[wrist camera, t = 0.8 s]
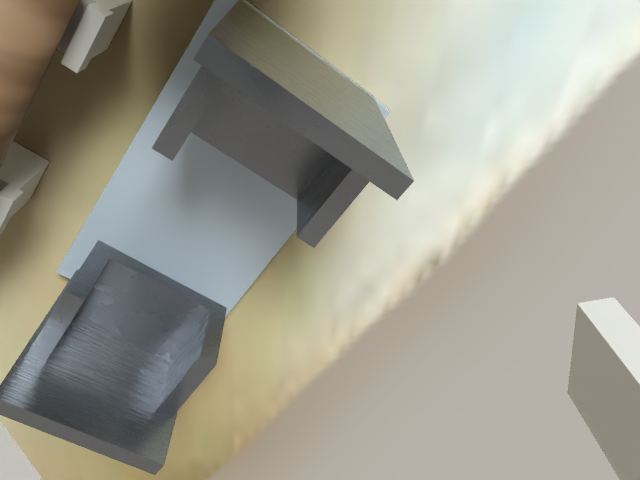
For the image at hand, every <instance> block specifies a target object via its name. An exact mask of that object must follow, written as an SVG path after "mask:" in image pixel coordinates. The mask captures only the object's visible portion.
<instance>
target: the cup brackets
mask: <svg viewBox="0 0 640 480" xmlns="http://www.w3.org/2000/svg"><path fill="white" fill-rule="evenodd" d="M193 60H195V61H196V62H197V63H199V64H200V65H201V67H200V69H199V70H198V72H197V74H196V75H195V77H194V79H193V80H192V82H191V83H190V85H189V87H188V88H187V90H186V92H185V93H184V95H183V97H182V98H181V100H180V102H179V103H178V105H177V107H176V108H175V110H174V112H173V113H172V115H171V117H170V118H169V120H168V122H167V123H166V125H165V126H164V128H163V130H162V131H161V133H160V135H159V136H158V138H157V140H156V141H155V143H154V145H153V146H152V149H153V150H155V151H157V152H158V153H160V154H162V155H163V156H165V157H167V158H168V159H170V160H171V161H173V160H174V158H175V157H176V155H177V153H178V152H179V150H180V149H181V147H182V145H183V144H184V142H185V141H186V139H187V138H188V136H189V134H190V133H193V134H194V135H196V136H198V137H199V138H201V139H202V140H204V141H205V142H207V143H209V144H210V145H212V146H213V147H215V148H216V149H218V150H220V151H221V152H223V153H224V154H226V155H227V156H229V157H231V158H232V159H234V160H235V161H237V162H238V163H240V164H242V165H243V166H245V167H246V168H248V169H249V170H251V171H253V172H254V173H256V174H257V175H259V176H260V177H262V178H263V179H265V180H267V181H268V182H270V183H271V184H273V185H274V186H276V187H278V188H279V189H281V190H282V191H284V192H285V193H287V194H289V195H290V196H292V197H293V198H295V199H296V200H297V237H298V238H299V239H301V240H303V241H304V242H306V243H308V244H309V245H311V246H313V247H315V246H316V245H317V244H318V242H319V241H320V240H321V239H322V238H323V236H324V235H325V234H326V233H327V232H328V230H329V229H330V228H331V227H332V226H333V224H334V223H335V222H336V221H337V220H338V218H339V217H340V216H341V215H342V214H343V213H344V211H345V210H346V209H347V208H348V207H349V205H350V204H351V203H352V202H353V201H354V199H355V198H356V197H357V196H358V195H359V193H360V192H361V191H362V190H363V189H364V187H365V186H366V185H367V184H368V183H369V181H370V182H371V183H373V184H374V185H376V186H377V187H379V188H380V189H382V190H383V191H385V192H386V193H387V194H389V195H390V196H392V197H393V198H395V199H396V200H398V198H399V197H400V196H401V195H402V194H403V193H404V192H405V190H406V189H407V188H408V187H409V186H410V185H411V184H412V183H413V181H414V180H413V178H412V176H411V174H410V171H409V169H408V167H407V165H406V163H405V161H404V159H403V157H402V155H401V153H400V151H399V148H398V146H397V144H396V142H395V140H394V138H393V136H392V134H391V132H390V130H389V128H388V125H387V123H386V121H385V119H384V117H383V115H382V113H381V111H380V109H379V107H378V105H377V102H376V101H375V100H374V99H372V98H371V97H370V96H369V95H367V94H366V93H364V92H363V91H362V90H360V89H359V88H357V87H356V86H355V85H354V84H352V83H351V82H349V81H348V80H347V79H345V78H344V77H342V76H341V75H340V74H339V73H337V72H336V71H335V70H333V69H332V68H331V67H329V66H328V65H327V64H325V63H324V62H323V61H321V60H320V59H319V58H317V57H316V56H315V55H313V54H312V53H311V52H309V51H308V50H307V49H306V48H304V47H303V46H302V45H300V44H299V43H298V42H296V41H295V40H294V39H292V38H291V37H290V36H288V35H287V34H286V33H284V32H283V31H282V30H280V29H279V28H278V27H276V26H275V25H274V24H272V23H271V22H270V21H269V20H267V19H266V18H265V17H263V16H262V15H261V14H259V13H258V12H257V11H255V10H254V9H253V8H251V7H250V6H249V5H247V4H246V3H245V2H243V1H242V0H239V1H238V2H237V3H236V4H235V5H234V6H233V7H232V8H231V9H230V11H229V12H228V13H227V14H226V15H225V16H224V17H223V18H222V19H221V20H220V22H219V23H218V24H217V25H216V26H215V27H214V28H213V29H212V30H211V32H210V33H209V34H208V35H207V37H206V39H205V40H204V42H203V44H202V45H201V47H200V49H199V51H198V52H197V54H196V56H195V57H194V59H193ZM226 310H227V308H226V307H224V306H223V305H221V304H219V303H217V302H215V301H213V300H211V299H209V298H207V297H206V296H204V295H202V294H200V293H198V292H196V291H194V290H192V289H190V288H189V287H187V286H185V285H183V284H181V283H179V282H177V281H175V280H173V279H172V278H170V277H168V276H166V275H164V274H162V273H160V272H158V271H156V270H154V269H153V268H151V267H149V266H147V265H145V264H143V263H141V262H139V261H137V260H136V259H134V258H132V257H130V256H128V255H126V254H124V253H122V252H120V251H119V250H117V249H115V248H113V247H111V246H109V245H107V244H105V243H103V242H101V241H100V240H98V241H97V243H96V244H95V246H94V247H93V249H92V250H91V252H90V254H89V255H88V257H87V258H86V260H85V261H84V263H83V264H82V266H81V267H80V269H79V270H78V269H77V270H76V271H75V273H74V274H73V276H72V277H71V279H70V280H69V282H68V283H67V285H66V286H65V288H64V290H63V291H62V293H61V294H60V296H59V297H58V299H57V300H56V302H55V303H54V305H53V306H52V308H51V309H50V311H49V312H48V314H47V315H46V317H45V318H44V320H43V321H42V323H41V324H40V326H39V327H38V329H37V330H36V332H35V333H34V335H33V336H32V338H31V340H30V341H29V343H28V344H27V346H26V347H25V349H24V350H23V352H22V353H21V355H20V356H19V358H18V359H17V361H16V362H15V364H14V365H13V367H12V368H11V370H10V371H9V373H8V374H7V376H6V377H5V379H4V380H3V382H2V383H1V385H0V415H2V416H5V417H7V418H10V419H12V420H15V421H18V422H20V423H23V424H25V425H28V426H30V427H33V428H36V429H38V430H41V431H43V432H46V433H48V434H51V435H54V436H56V437H59V438H61V439H64V440H67V441H69V442H72V443H74V444H77V445H79V446H82V447H85V448H87V449H90V450H92V451H95V452H97V453H100V454H103V455H105V456H108V457H110V458H113V459H115V460H118V461H121V462H123V463H126V464H128V465H131V466H133V467H136V468H139V469H141V470H144V471H146V472H149V473H151V474H154V475H155V474H156V473H157V472H158V471H159V470H160V469H161V468H162V467H163V465H164V463H165V459H166V455H167V451H168V447H169V443H170V439H171V435H172V431H173V427H174V423H175V419H176V415H177V411H178V410H179V408H180V407H181V406H182V405H183V404H184V402H185V401H186V400H187V399H188V398H189V396H190V395H191V394H192V393H193V392H194V390H195V389H196V388H197V387H198V386H199V384H200V383H201V382H202V381H203V380H204V379H205V377H206V376H207V375H208V374H209V373H210V371H211V370H212V369H213V368H214V367H215V365H216V363H217V358H218V352H219V347H220V342H221V337H222V331H223V326H224V321H225V315H226Z"/></svg>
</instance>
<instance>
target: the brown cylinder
mask: <svg viewBox="0 0 640 480" xmlns="http://www.w3.org/2000/svg"><path fill="white" fill-rule="evenodd" d="M78 2H79V0H0V168H1V165H2V163H3V161H4V159H5V157H6V155H7V153H8V151H9V148H10V146H11V144H12V142H13V140H14V138H15V136H16V134H17V131H18V129H19V127H20V125H21V123H22V121H23V119H24V117H25V114H26V112H27V110H28V108H29V106H30V104H31V102H32V100H33V97H34V95H35V93H36V91H37V89H38V87H39V85H40V83H41V80H42V78H43V76H44V74H45V72H46V70H47V68H48V66H49V63H50V61H51V59H52V57H53V55H54V53H55V51H56V49H57V46H58V44H59V42H60V40H61V38H62V36H63V34H64V32H65V29H66V27H67V25H68V23H69V21H70V19H71V17H72V15H73V12H74V10H75V8H76V6H77V4H78Z"/></svg>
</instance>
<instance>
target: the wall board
mask: <svg viewBox="0 0 640 480" xmlns="http://www.w3.org/2000/svg"><path fill="white" fill-rule="evenodd" d="M238 1H239V0H215V1H214V2H213V4H212V6H211V7H210V9H209V11H208V13H207V14H206V16H205V18H204V19H203V21H202V23H201V25H200V26H199V28H198V30H197V31H196V33H195V35H194V37H193V38H192V40H191V42H190V43H189V45H188V47H187V49H186V50H185V52H184V54H183V55H182V57H181V59H180V61H179V62H178V64H177V66H176V67H175V69H174V71H173V73H172V74H171V76H170V78H169V79H168V81H167V83H166V85H165V86H164V88H163V90H162V91H161V93H160V95H159V97H158V98H157V100H156V102H155V103H154V105H153V107H152V109H151V110H150V112H149V114H148V115H147V117H146V119H145V121H144V122H143V124H142V126H141V127H140V129H139V131H138V133H137V134H136V136H135V138H134V140H133V141H132V143H131V145H130V146H129V148H128V150H127V152H126V153H125V155H124V157H123V158H122V160H121V162H120V164H119V165H118V167H117V169H116V170H115V172H114V174H113V176H112V177H111V179H110V181H109V182H108V184H107V186H106V188H105V189H104V191H103V193H102V194H101V196H100V198H99V200H98V201H97V203H96V205H95V206H94V208H93V210H92V212H91V213H90V215H89V217H88V218H87V220H86V222H85V224H84V225H83V227H82V229H81V230H80V232H79V234H78V236H77V237H76V239H75V241H74V242H73V244H72V246H71V248H70V249H69V251H68V253H67V254H66V256H65V258H64V260H63V261H62V263H61V265H60V266H59V268H58V270H57V273H59V274H61V275H63V276H65V277H67V278H69V279H71V277H72V276H73V274H74V273H75V271H76V270H77V269H78V270H79V269H80V267H81V266H82V264H83V263H84V261H85V260H86V258H87V257H88V255H89V254H90V252H91V250H92V249H93V247H94V246H95V244H96V243H97V241H98V240H100V241H101V242H103V243H105V244H107V245H109V246H111V247H113V248H115V249H117V250H119V251H120V252H122V253H124V254H126V255H128V256H130V257H132V258H134V259H136V260H137V261H139V262H141V263H143V264H145V265H147V266H149V267H151V268H153V269H154V270H156V271H158V272H160V273H162V274H164V275H166V276H168V277H170V278H172V279H173V280H175V281H177V282H179V283H181V284H183V285H185V286H187V287H189V288H190V289H192V290H194V291H196V292H198V293H200V294H202V295H204V296H206V297H207V298H209V299H211V300H213V301H215V302H217V303H219V304H221V305H223V306H224V307H226V308H227V310H226V315H225V317H226V316H227V314H228V313H229V312H230V311H231V309H232V308H233V307H234V306H235V304H236V303H237V302H238V301H239V300H240V298H241V297H242V296H243V295H244V293H245V292H246V291H247V290H248V288H249V287H250V286H251V285H252V283H253V282H254V281H255V280H256V278H257V277H258V276H259V275H260V273H261V272H262V271H263V270H264V268H265V267H266V266H267V265H268V263H269V262H270V261H271V260H272V258H273V257H274V256H275V255H276V253H277V252H278V251H279V250H280V248H281V247H282V246H283V245H284V243H285V242H286V241H287V240H288V238H289V237H290V236H291V235H292V233H293V232H294V231H295V230H296V229H297V200H296V199H295V198H293V197H292V196H290V195H289V194H287V193H285V192H284V191H282V190H281V189H279V188H278V187H276V186H274V185H273V184H271V183H270V182H268V181H267V180H265V179H263V178H262V177H260V176H259V175H257V174H256V173H254V172H253V171H251V170H249V169H248V168H246V167H245V166H243V165H242V164H240V163H238V162H237V161H235V160H234V159H232V158H231V157H229V156H227V155H226V154H224V153H223V152H221V151H220V150H218V149H216V148H215V147H213V146H212V145H210V144H209V143H207V142H205V141H204V140H202V139H201V138H199V137H198V136H196V135H194V134H193V133H190V134H189V136H188V138H187V139H186V141H185V142H184V144H183V145H182V147H181V149H180V150H179V152H178V153H177V155H176V157H175V158H174V160H173V161H171V160H170V159H168V158H167V157H165V156H163V155H162V154H160V153H158V152H157V151H155V150H153V149H152V146H153V145H154V143H155V141H156V140H157V138H158V136H159V135H160V133H161V131H162V130H163V128H164V126H165V125H166V123H167V122H168V120H169V118H170V117H171V115H172V113H173V112H174V110H175V108H176V107H177V105H178V103H179V102H180V100H181V98H182V97H183V95H184V93H185V92H186V90H187V88H188V87H189V85H190V83H191V82H192V80H193V79H194V77H195V75H196V74H197V72H198V70H199V69H200V67H201V65H200V64H199V63H197V62H196V61H195V60H193V59H194V57H195V56H196V54H197V52H198V51H199V49H200V47H201V45H202V44H203V42H204V40H205V39H206V37H207V35H208V34H209V33H210V32H211V30H212V29H213V28H214V27H215V26H216V25H217V24H218V23H219V22H220V20H221V19H222V18H223V17H224V16H225V15H226V14H227V13H228V12H229V11H230V9H231V8H232V7H233V6H234V5H235V4H236V3H237V2H238ZM242 1H243V2H245V3H246V4H247V5H249V6H250V7H251V8H253V9H254V10H255V11H257V12H258V13H259V14H261V15H262V16H263V17H265V18H266V19H267V20H269V21H270V22H271V23H272V24H274V25H275V26H276V27H278V28H279V29H280V30H282V31H283V32H284V33H286V34H287V35H288V36H290V37H291V38H292V39H294V40H295V41H296V42H298V43H299V44H300V45H302V46H303V47H304V48H306V49H307V50H308V51H309V52H311V53H312V54H313V55H315V56H316V57H317V58H319V59H320V60H321V61H323V62H324V63H325V64H327V65H328V66H329V67H331V68H332V69H333V70H335V71H336V72H337V73H339V74H340V75H341V76H342V77H344V78H345V79H347V80H348V81H349V82H351V83H352V84H354V85H355V86H356V87H357V88H359V89H360V90H362V91H363V92H364V93H366V94H367V95H369V96H370V97H371V98H372V99H374V100H375V101H376V102H377V105H378V107H379V109H380V111H381V113H382V115H383V117H384V119H385V118H386V116H387V115H388V114H389V113H390V112H389V110H388V108H387V107H386V106H385V105H383V104H382V103H381V102H379V101H378V100H377V99H376V98H374V97H373V96H372V95H370V94H369V93H368V92H366V91H365V90H364V89H362V88H361V87H360V86H358V85H357V84H356V83H354V82H353V81H352V80H351V79H349V78H348V77H347V76H345V75H344V74H343V73H341V72H340V71H339V70H337V69H336V68H335V67H333V66H332V65H331V64H329V63H328V62H327V61H325V60H324V59H323V58H322V57H320V56H319V55H318V54H316V53H315V52H314V51H312V50H311V49H310V48H308V47H307V46H306V45H304V44H303V43H302V42H300V41H299V40H298V39H297V38H295V37H294V36H293V35H291V34H290V33H289V32H287V31H286V30H285V29H283V28H282V27H281V26H279V25H278V24H277V23H275V22H274V21H273V20H271V19H270V18H269V17H268V16H266V15H265V14H264V13H262V12H261V11H260V10H258V9H257V8H256V7H254V6H253V5H252V4H250V3H249V2H248V1H246V0H242Z"/></svg>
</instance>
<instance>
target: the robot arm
mask: <svg viewBox="0 0 640 480" xmlns="http://www.w3.org/2000/svg"><path fill="white" fill-rule="evenodd" d="M568 394H569V395H570V397H571V399H572V401H573V402H574V404H575V406H576V407H577V409H578V410H579V412H580V414H581V415H582V417H583V419H584V421H585V422H586V424H587V426H588V427H589V429H590V431H591V432H592V434H593V436H594V437H595V439H596V441H597V442H598V444H599V446H600V447H601V449H602V451H603V452H604V454H605V456H606V457H607V459H608V461H609V462H610V464H611V466H612V467H613V469H614V470H615V472H616V474H617V475H618V477H619V479H620V480H640V327H639V326H638V325H637V323H636V322H635V321H634V320H633V319H632V318H631V316H630V315H629V314H628V313H627V312H626V311H625V310H624V309H623V307H622V306H621V305H620V304H619V303H618V302H617V301H616V299H615V298H614V297H613V298H607V299H601V300H595V301H589V302H583V303H578V304H577V313H576V322H575V330H574V340H573V349H572V358H571V367H570V376H569V385H568ZM40 479H41V476H40V475H39V473H38V472H37V471H36V469H35V468H34V466H33V465H32V464H31V462H30V461H29V460H28V458H27V457H26V456H25V454H24V453H23V451H22V450H21V449H20V447H19V446H18V445H17V443H16V442H15V440H14V439H13V438H12V436H11V435H10V434H9V432H8V431H7V430H6V428H5V427H4V425H3V424H2V423H1V421H0V480H40Z"/></svg>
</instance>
